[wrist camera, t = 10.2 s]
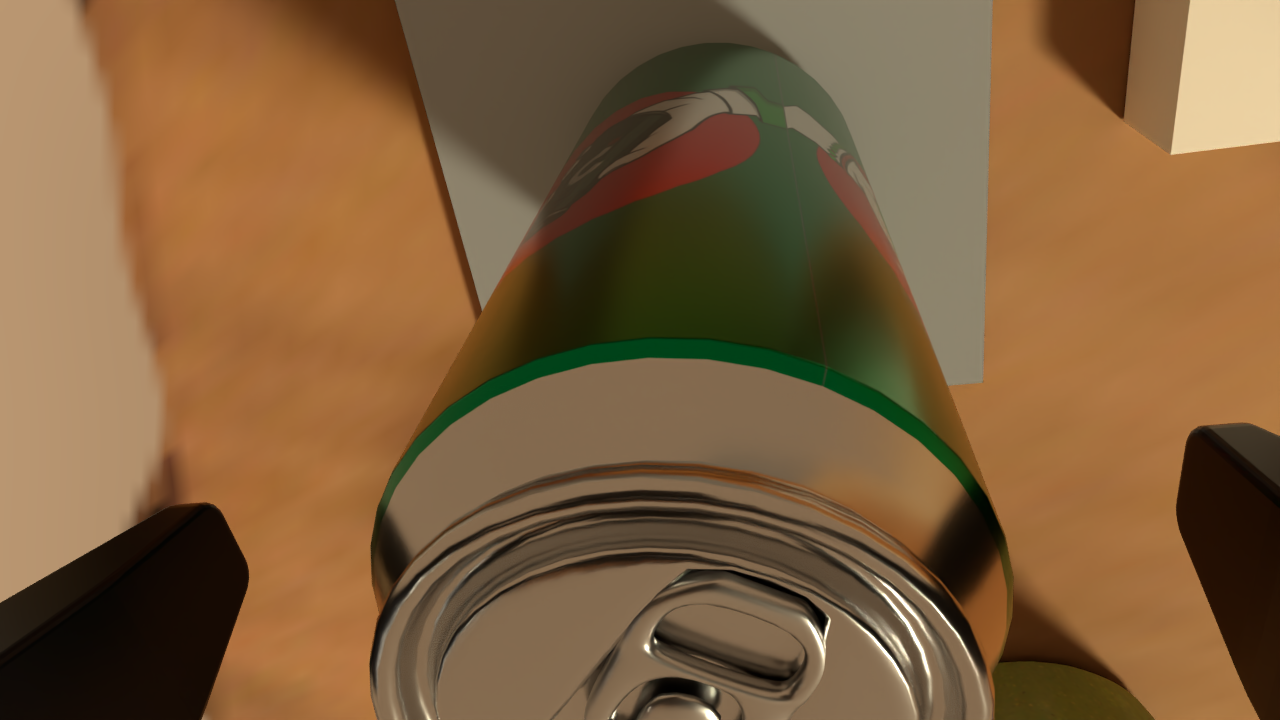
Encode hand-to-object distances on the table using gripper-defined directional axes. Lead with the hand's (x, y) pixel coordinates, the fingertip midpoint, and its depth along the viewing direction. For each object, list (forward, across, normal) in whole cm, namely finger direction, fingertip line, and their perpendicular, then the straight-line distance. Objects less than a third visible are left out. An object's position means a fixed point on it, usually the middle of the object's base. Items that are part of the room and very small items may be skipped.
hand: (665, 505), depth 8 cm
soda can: (+10, 0, 0) cm, 10 cm away
